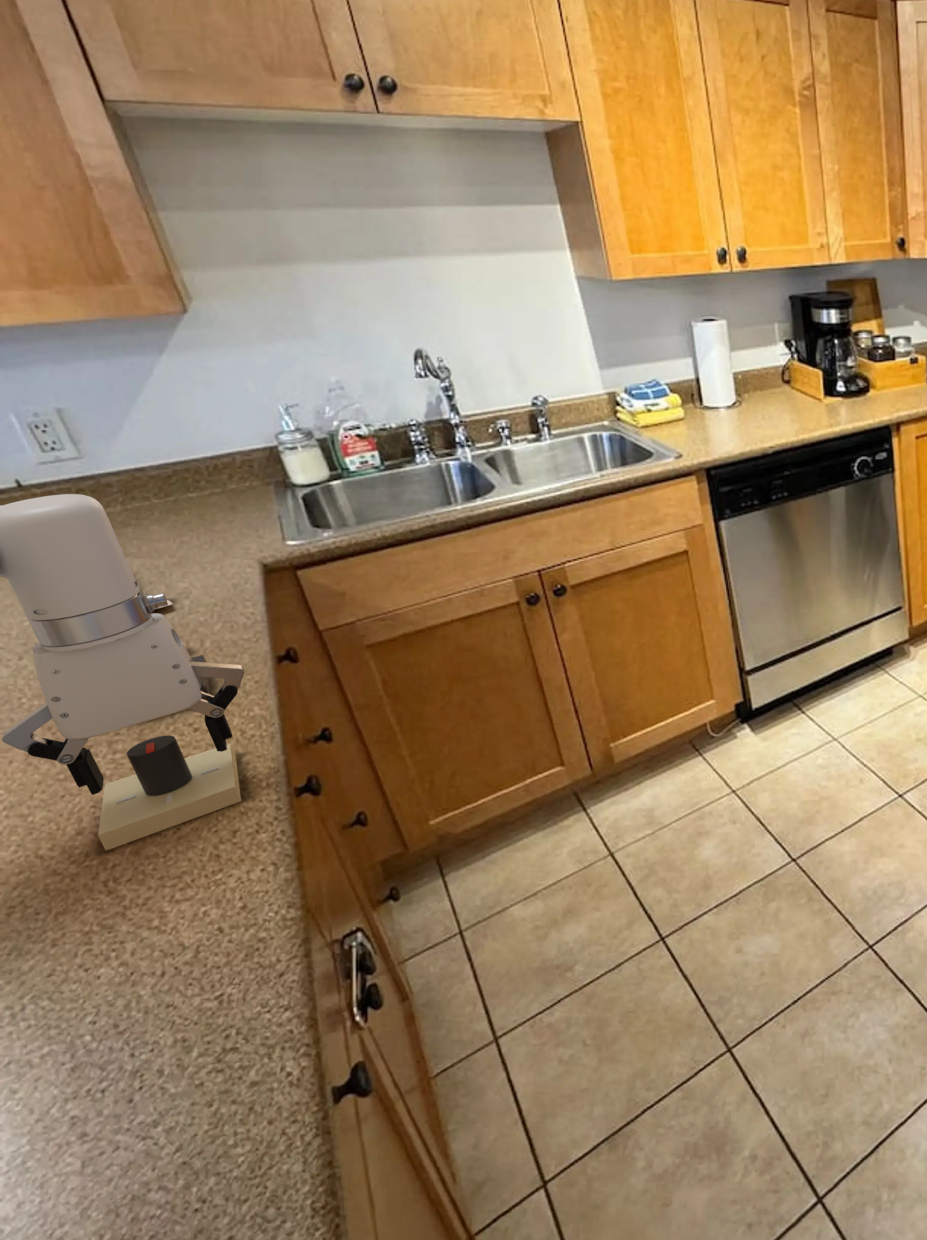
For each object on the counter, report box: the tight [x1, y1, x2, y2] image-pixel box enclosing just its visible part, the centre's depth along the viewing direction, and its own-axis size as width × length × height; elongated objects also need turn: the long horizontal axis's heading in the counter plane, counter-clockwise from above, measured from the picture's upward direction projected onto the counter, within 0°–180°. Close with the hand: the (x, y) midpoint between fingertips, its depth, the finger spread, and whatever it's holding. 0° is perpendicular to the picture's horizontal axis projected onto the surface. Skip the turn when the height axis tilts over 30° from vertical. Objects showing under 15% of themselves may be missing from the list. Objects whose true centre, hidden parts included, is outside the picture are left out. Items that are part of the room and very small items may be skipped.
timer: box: [97, 743, 242, 851], centre depth 82 cm, size 11×10×2 cm
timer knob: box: [126, 734, 192, 796], centre depth 81 cm, size 4×4×5 cm
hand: (162, 765), depth 81 cm, fingers open, 9 cm apart
